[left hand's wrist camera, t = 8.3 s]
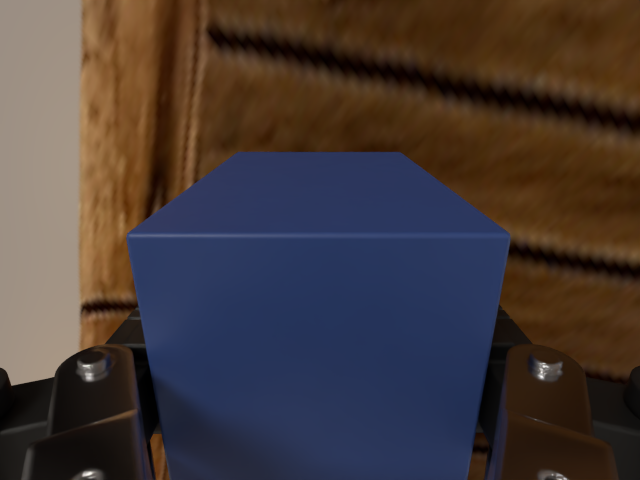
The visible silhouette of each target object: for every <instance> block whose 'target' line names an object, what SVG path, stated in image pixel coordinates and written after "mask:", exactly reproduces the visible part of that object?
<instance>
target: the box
mask: <svg viewBox="0 0 640 480" xmlns="http://www.w3.org/2000/svg"><path fill="white" fill-rule="evenodd" d="M126 239H127V245H128V250H129V256H130V261H131V267H132V272H133V278H134V283H135V289H136V295H137V300H138V306H139V311H140V317H141V322H142V328H143V333H144V339H145V344H146V350H147V355H148V361H149V366H150V372H151V377H152V383H153V389H154V394H155V400H156V405H157V411H158V416H159V422H160V427H161V433H162V438H163V444H164V449H165V455H166V460H167V466H168V471H169V477H170V480H467V478H468V472H469V467H470V461H471V456H472V450H473V445H474V439H475V434H476V428H477V422H478V417H479V411H480V406H481V400H482V395H483V389H484V384H485V378H486V372H487V367H488V361H489V356H490V350H491V345H492V339H493V334H494V328H495V322H496V317H497V311H498V306H499V300H500V295H501V289H502V283H503V278H504V272H505V267H506V261H507V256H508V250H509V245H510V234H509V233H508V232H507V231H506V230H504V229H503V228H501V227H500V226H499V225H497V224H496V223H495V222H493V221H492V220H491V219H489V218H488V217H487V216H485V215H484V214H483V213H481V212H480V211H479V210H477V209H476V208H475V207H473V206H472V205H471V204H469V203H468V202H467V201H465V200H464V199H462V198H461V197H460V196H458V195H457V194H456V193H454V192H453V191H452V190H450V189H449V188H448V187H446V186H445V185H444V184H442V183H441V182H440V181H438V180H437V179H436V178H434V177H433V176H432V175H430V174H429V173H428V172H426V171H425V170H424V169H422V168H421V167H419V166H418V165H417V164H415V163H414V162H413V161H411V160H410V159H409V158H407V157H406V156H405V155H403V154H402V153H400V152H238V153H236V154H234V155H233V156H232V157H230V158H229V159H228V160H226V161H225V162H224V163H222V164H221V165H220V166H218V167H217V168H215V169H214V170H213V171H211V172H210V173H209V174H207V175H206V176H205V177H203V178H202V179H201V180H199V181H198V182H196V183H195V184H194V185H192V186H191V187H190V188H188V189H187V190H186V191H184V192H183V193H182V194H180V195H179V196H177V197H176V198H175V199H173V200H172V201H171V202H169V203H168V204H167V205H165V206H164V207H163V208H161V209H160V210H158V211H157V212H156V213H154V214H153V215H152V216H150V217H149V218H148V219H146V220H145V221H144V222H142V223H141V224H139V225H138V226H137V227H135V228H134V229H133V230H131V231H130V232H129V233H128V234H127V238H126Z"/></svg>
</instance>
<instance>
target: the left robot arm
mask: <svg viewBox="0 0 640 480" xmlns="http://www.w3.org/2000/svg"><path fill="white" fill-rule="evenodd" d="M476 433H484V434H485V436H486V439H487V441H488V443H489V449H488V454H487V461H486V468H485V475H484V480H640V366H638V367H635V368H634V369H633V370H632V371H631V374H630V377H629V380H628V383H627V385H623V384H618V383H613V382H608V381H603V380H598V379H593V378H588V377H585V373H584V370H583V369H582V367H581V366H580V365H579V364H578V363H577V362H576V361H575V360H574V359H572V358H571V357H569V356H568V355H566V354H564V353H562V352H560V351H558V350H555V349H552V348H549V347H546V346H541V345H535V344H532V343H531V341H530V340H529V339H528V338H527V337H526V335H525V334H524V333H523V332H522V331H521V330H520V328H519V327H518V326H517V325H516V324H515V323H514V321H513V320H512V319H510V317H509V315H508V314H507V313H506V312H505V311H504V310H502V307H501V306H500V305H499V306H498V311H497V317H496V322H495V328H494V334H493V339H492V345H491V350H490V356H489V361H488V367H487V372H486V378H485V384H484V389H483V395H482V400H481V406H480V411H479V417H478V422H477V428H476ZM153 434H162V433H161V427H160V422H159V416H158V411H157V405H156V400H155V394H154V389H153V383H152V377H151V372H150V366H149V361H148V355H147V350H146V344H145V339H144V333H143V328H142V322H141V317H140V311H139V306H137V307H136V308H135V311H133V312H132V313H131V314H130V315H129V316H128V319H127V320H125V321H124V322H123V323H122V324H121V326H120V327H119V328H118V329H117V330H116V331H115V333H114V334H113V335H112V336H111V337H110V338H109V340H108V341H107V342H106V343H105V344H104V345H99V346H94V347H91V348H88V349H85V350H82V351H80V352H78V353H76V354H74V355H73V356H71V357H69V358H68V359H66V360H65V361H64V362H63V363H62V364H61V365H60V366H59V367H58V369H57V371H56V373H55V377H52V378H48V379H44V380H39V381H33V382H29V383H24V384H18V385H13V386H11V383H10V380H9V377H8V374H7V372H6V371H5V370H4V369H2V368H0V480H156V475H155V468H154V461H153V454H152V449H151V444H150V439H151V437H152V435H153Z"/></svg>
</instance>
